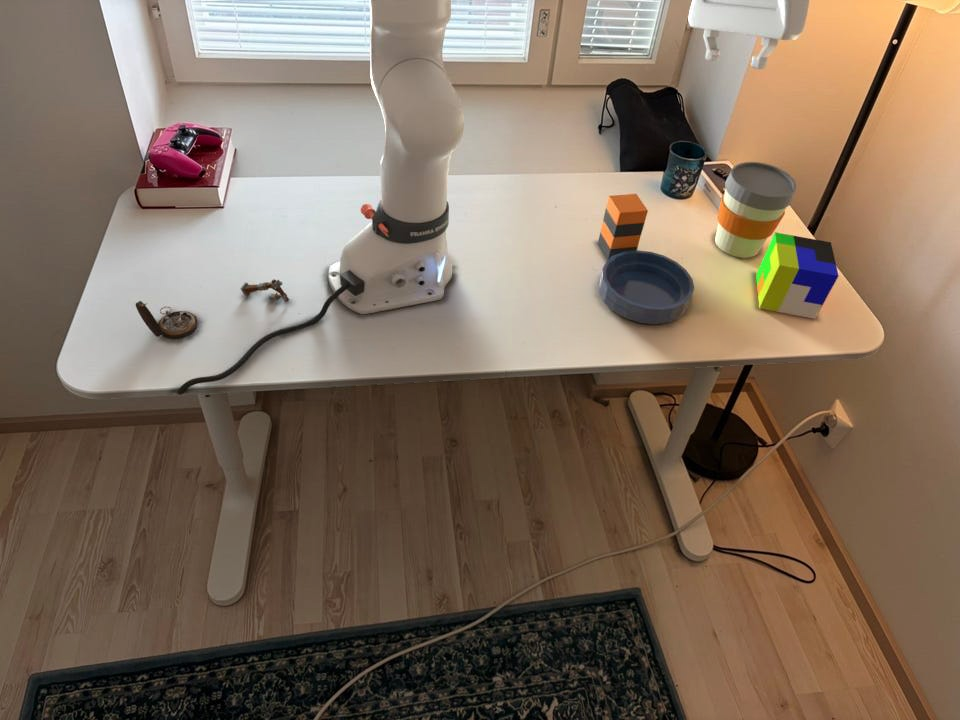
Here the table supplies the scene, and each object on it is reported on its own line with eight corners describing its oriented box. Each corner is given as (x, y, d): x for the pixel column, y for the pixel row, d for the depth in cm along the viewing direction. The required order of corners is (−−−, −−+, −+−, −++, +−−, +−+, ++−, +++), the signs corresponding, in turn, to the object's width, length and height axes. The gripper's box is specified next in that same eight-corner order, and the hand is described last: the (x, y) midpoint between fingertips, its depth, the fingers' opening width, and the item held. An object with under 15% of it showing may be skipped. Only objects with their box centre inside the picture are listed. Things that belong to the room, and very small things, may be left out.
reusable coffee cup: (695, 244, 144) (718, 179, 133) (721, 218, 151) (745, 154, 141) (754, 271, 139) (783, 206, 128) (778, 243, 147) (807, 178, 136)
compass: (206, 329, 118) (196, 295, 112) (159, 350, 114) (147, 316, 108) (182, 303, 121) (172, 269, 116) (136, 323, 117) (124, 289, 112)
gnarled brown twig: (290, 303, 122) (277, 282, 119) (253, 308, 125) (239, 287, 123) (294, 296, 123) (281, 275, 121) (258, 301, 126) (244, 281, 124)
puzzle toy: (814, 318, 131) (838, 276, 124) (759, 308, 132) (779, 265, 124) (808, 284, 138) (830, 242, 130) (755, 275, 139) (774, 232, 131)
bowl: (638, 337, 124) (643, 320, 121) (580, 282, 133) (583, 265, 130) (706, 308, 131) (713, 291, 128) (646, 258, 140) (651, 241, 137)
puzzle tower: (607, 260, 138) (619, 212, 130) (597, 243, 142) (608, 195, 134) (634, 258, 139) (648, 210, 132) (623, 240, 143) (636, 193, 135)
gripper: (688, -36, 116) (673, 56, 123) (797, -30, 102) (772, 74, 109) (715, -35, 120) (698, 55, 126) (824, -29, 105) (799, 72, 112)
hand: (733, 64), depth 117 cm, fingers open, 8 cm apart
